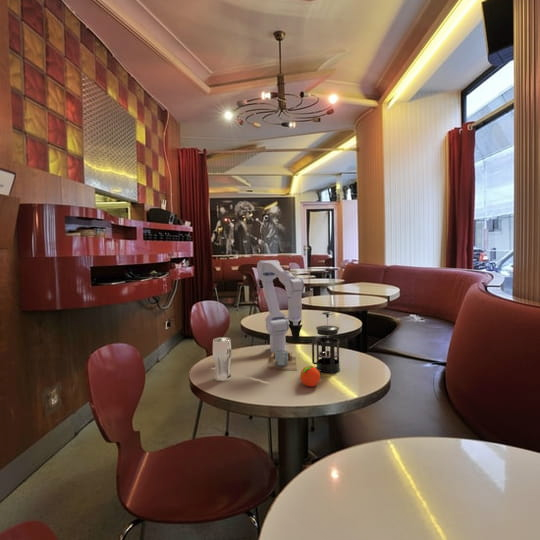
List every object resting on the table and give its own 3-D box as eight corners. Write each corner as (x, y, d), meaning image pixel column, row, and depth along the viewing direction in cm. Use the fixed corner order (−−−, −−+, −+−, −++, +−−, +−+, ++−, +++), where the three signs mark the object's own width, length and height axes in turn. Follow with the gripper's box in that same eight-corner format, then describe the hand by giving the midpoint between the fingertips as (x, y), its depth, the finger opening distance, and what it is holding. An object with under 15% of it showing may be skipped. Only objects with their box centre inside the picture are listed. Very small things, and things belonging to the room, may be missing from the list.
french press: (335, 364, 150) (335, 309, 148) (345, 372, 141) (345, 313, 139) (308, 367, 147) (307, 311, 146) (317, 375, 138) (316, 315, 137)
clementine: (310, 392, 122) (309, 371, 122) (294, 387, 127) (294, 367, 126) (324, 385, 128) (323, 365, 127) (308, 380, 133) (308, 361, 132)
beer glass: (231, 381, 133) (229, 341, 132) (212, 382, 133) (210, 341, 132) (233, 375, 140) (232, 336, 139) (215, 375, 140) (214, 337, 139)
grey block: (274, 371, 141) (274, 357, 141) (275, 363, 151) (275, 350, 151) (288, 370, 141) (287, 357, 141) (288, 362, 151) (287, 350, 151)
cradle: (268, 358, 160) (268, 352, 160) (295, 358, 159) (295, 352, 159) (266, 372, 142) (266, 365, 142) (296, 372, 141) (296, 365, 141)
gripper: (285, 304, 161) (286, 334, 162) (285, 310, 147) (286, 343, 148) (301, 304, 161) (301, 334, 162) (302, 309, 147) (303, 342, 147)
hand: (295, 338), depth 155 cm, fingers open, 7 cm apart
